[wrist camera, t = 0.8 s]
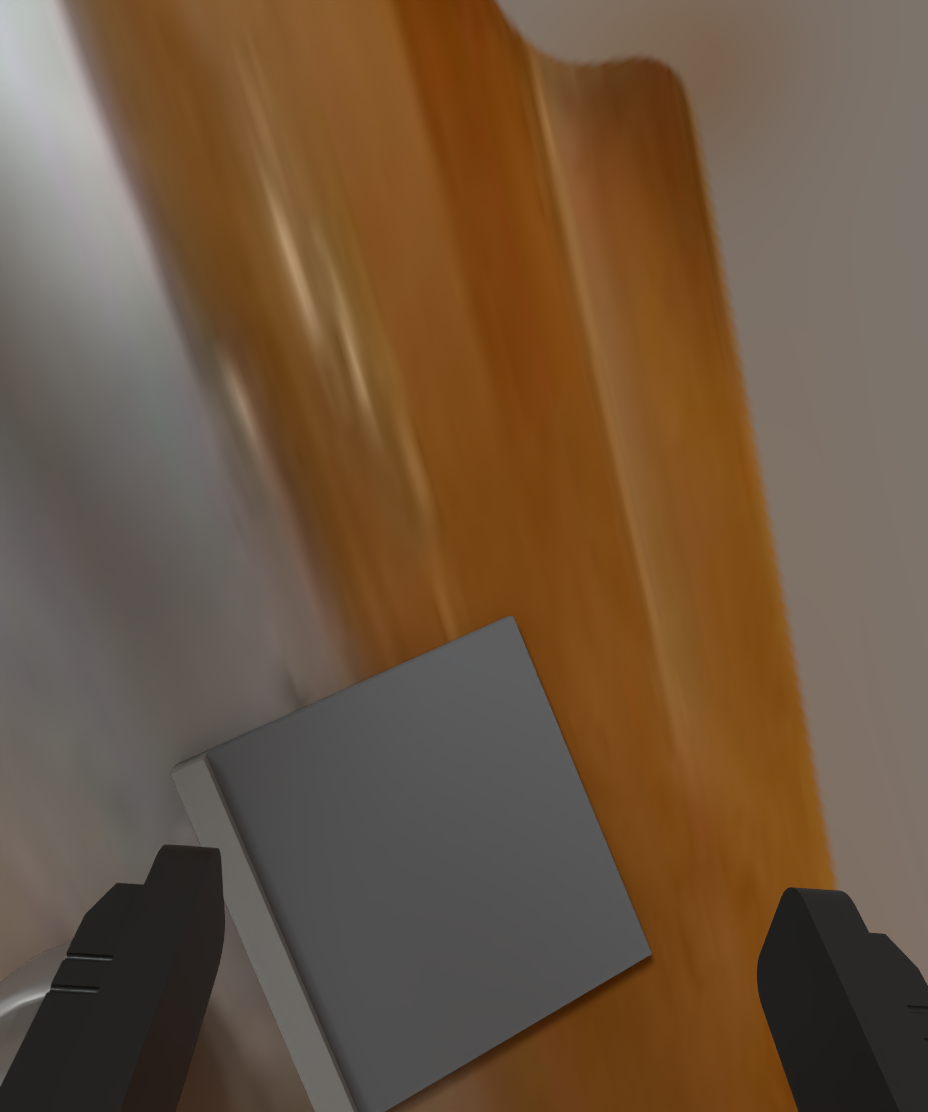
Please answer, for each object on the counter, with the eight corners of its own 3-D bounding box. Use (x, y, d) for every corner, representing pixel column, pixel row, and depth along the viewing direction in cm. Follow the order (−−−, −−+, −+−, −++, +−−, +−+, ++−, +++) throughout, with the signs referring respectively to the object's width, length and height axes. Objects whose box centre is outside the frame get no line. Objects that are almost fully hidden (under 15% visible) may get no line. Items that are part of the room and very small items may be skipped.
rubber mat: (175, 764, 30) (170, 774, 28) (507, 616, 34) (520, 616, 32) (331, 1128, 31) (335, 1160, 29) (643, 946, 34) (663, 964, 32)
